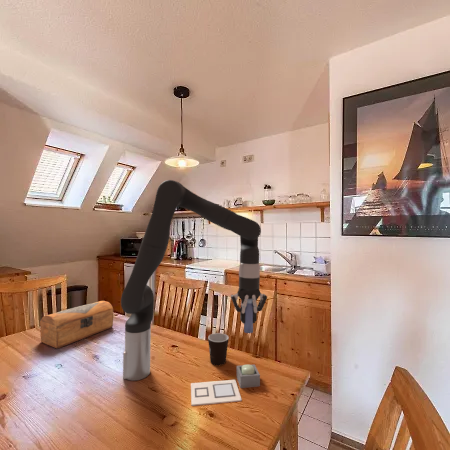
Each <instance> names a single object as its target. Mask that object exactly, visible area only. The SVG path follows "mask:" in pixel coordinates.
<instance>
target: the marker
mask: <svg viewBox="0 0 450 450" xmlns="http://www.w3.org/2000/svg"><path fill="white" fill-rule="evenodd" d="M243 331H244V332H243V333H245V334H253V332H254V323H253V302H252V299H248V300H247V305H246V308H245V323H244V324H243Z"/></svg>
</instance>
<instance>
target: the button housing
mask: <svg viewBox="0 0 450 450" xmlns="http://www.w3.org/2000/svg"><path fill="white" fill-rule="evenodd" d="M243 365H244V364H242V365H241V364H240V365H236V379H237V382H238V384H239V388H240V389H245V388H258V387H260V386H261V374H260V373H259V370H258V367H257V366H256V364H251V365H252V366H253V367H254V374H250V375H242V366H243Z"/></svg>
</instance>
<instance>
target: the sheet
mask: <svg viewBox="0 0 450 450" xmlns="http://www.w3.org/2000/svg"><path fill="white" fill-rule="evenodd" d="M190 399H191V400H190V401H191V406H192V407H194V406H204V405H213V404H214V405H215V404H223V403H226V404H227V403H233V402H242V397H241V393H240V390H239V387H238V384H237V381H236V379H229V380H228V379H227V380H215V381H203V382H191V383H190Z"/></svg>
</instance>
